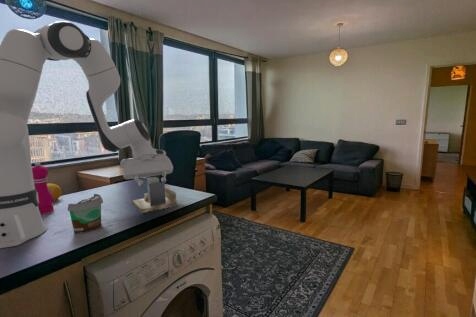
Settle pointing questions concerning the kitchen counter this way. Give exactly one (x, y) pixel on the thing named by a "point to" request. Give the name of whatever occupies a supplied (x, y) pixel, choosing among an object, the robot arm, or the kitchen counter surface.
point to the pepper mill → (42, 188)
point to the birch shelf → (144, 205)
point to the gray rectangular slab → (157, 193)
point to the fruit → (54, 190)
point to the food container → (86, 214)
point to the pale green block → (151, 180)
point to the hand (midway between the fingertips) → (153, 183)
